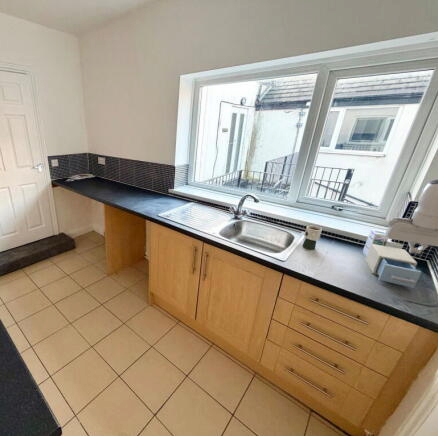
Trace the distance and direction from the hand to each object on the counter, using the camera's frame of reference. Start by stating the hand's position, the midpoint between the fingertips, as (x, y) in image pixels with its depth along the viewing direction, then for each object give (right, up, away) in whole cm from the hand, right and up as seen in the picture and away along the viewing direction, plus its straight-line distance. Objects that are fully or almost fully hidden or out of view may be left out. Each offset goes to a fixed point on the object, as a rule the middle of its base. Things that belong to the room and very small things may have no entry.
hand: (414, 252), depth 99 cm
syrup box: (+11, -7, +32) cm, 34 cm away
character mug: (-17, -3, +39) cm, 43 cm away
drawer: (+2, -13, +10) cm, 17 cm away
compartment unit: (+7, -11, +19) cm, 23 cm away
